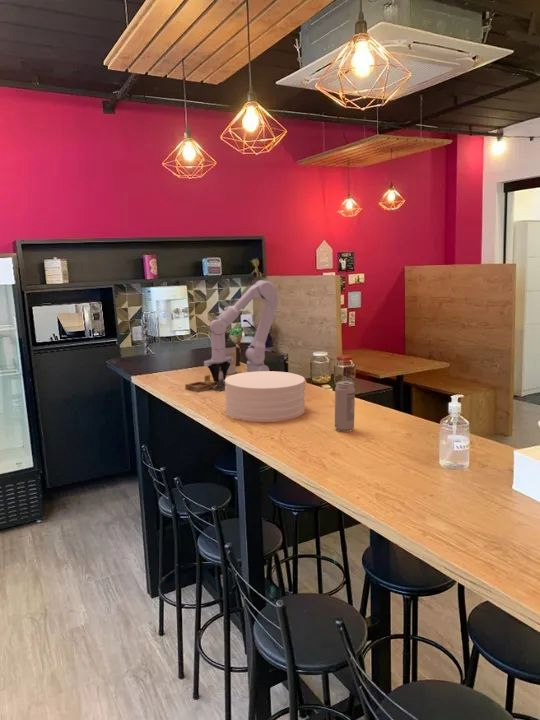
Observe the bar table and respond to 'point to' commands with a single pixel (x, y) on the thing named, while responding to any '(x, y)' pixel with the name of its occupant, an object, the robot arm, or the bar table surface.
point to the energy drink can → (344, 406)
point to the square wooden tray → (198, 386)
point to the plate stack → (265, 396)
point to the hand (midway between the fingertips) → (219, 380)
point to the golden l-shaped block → (207, 380)
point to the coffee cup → (231, 351)
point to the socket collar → (218, 388)
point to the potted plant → (236, 350)
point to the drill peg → (220, 378)
